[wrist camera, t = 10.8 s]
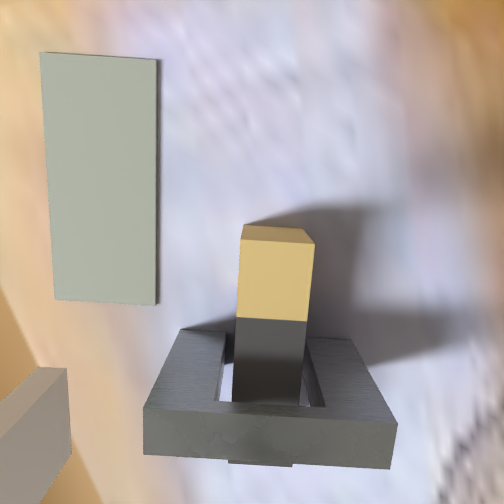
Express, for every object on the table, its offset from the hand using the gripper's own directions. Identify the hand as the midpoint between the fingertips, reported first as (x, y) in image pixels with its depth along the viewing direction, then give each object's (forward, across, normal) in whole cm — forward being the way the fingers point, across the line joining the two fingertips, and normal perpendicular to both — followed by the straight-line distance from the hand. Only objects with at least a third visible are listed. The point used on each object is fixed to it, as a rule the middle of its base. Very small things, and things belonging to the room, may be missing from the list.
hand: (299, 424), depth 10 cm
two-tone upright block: (+18, 0, +5) cm, 19 cm away
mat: (+18, +13, -5) cm, 23 cm away
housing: (+18, 0, +8) cm, 20 cm away
